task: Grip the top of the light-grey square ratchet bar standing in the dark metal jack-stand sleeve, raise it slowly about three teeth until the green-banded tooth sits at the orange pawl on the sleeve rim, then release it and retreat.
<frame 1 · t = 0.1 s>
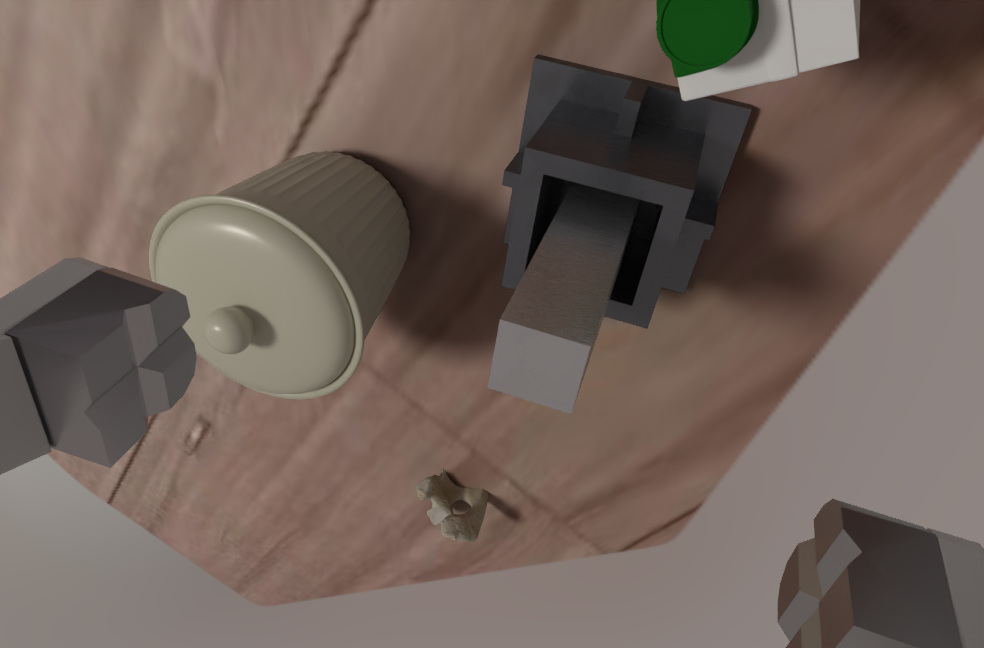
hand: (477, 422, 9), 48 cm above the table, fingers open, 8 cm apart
stand: (616, 178, 57), on the table
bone: (456, 486, 85), on the table
canister: (352, 211, 67), on the table
column: (581, 264, 47), point 13 cm above the table, slide at 0.0 cm
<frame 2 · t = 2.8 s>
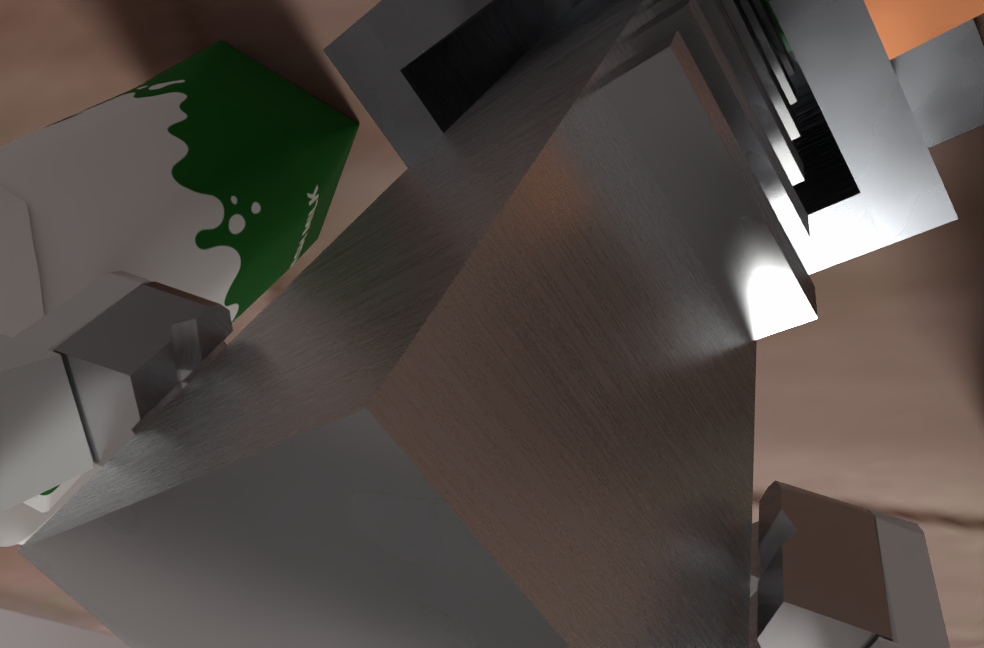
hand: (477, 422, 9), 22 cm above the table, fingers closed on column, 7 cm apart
milk carton: (274, 142, 34), on the table
stand: (669, 23, 26), on the table
column: (623, 151, 15), point 13 cm above the table, slide at -0.1 cm, touching gripper
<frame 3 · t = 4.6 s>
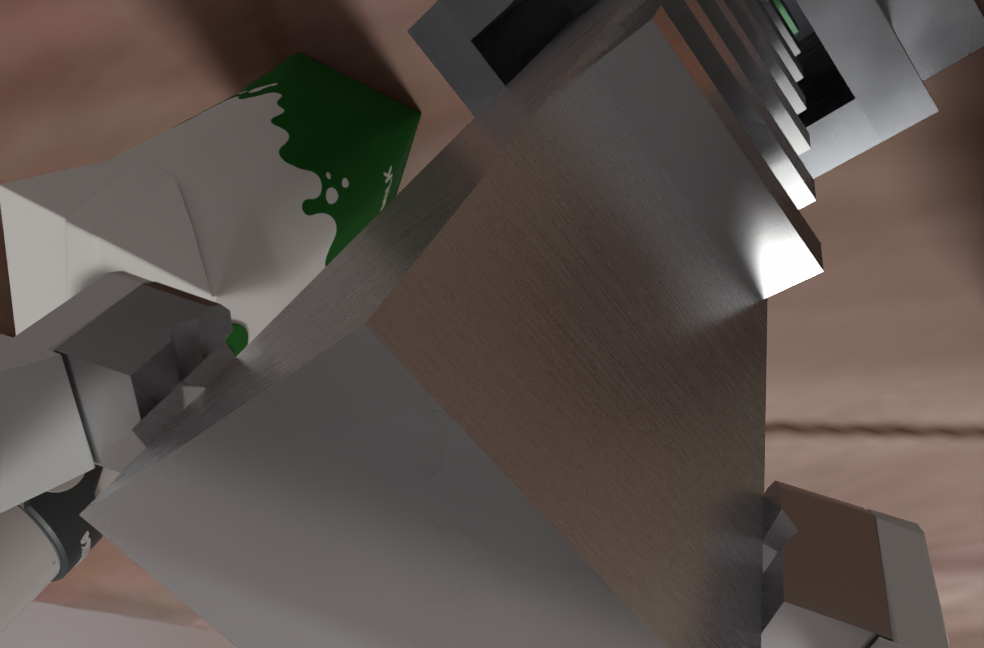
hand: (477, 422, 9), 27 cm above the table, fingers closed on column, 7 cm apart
milk carton: (346, 138, 39), on the table
column: (630, 137, 16), point 18 cm above the table, slide at 4.4 cm, touching gripper
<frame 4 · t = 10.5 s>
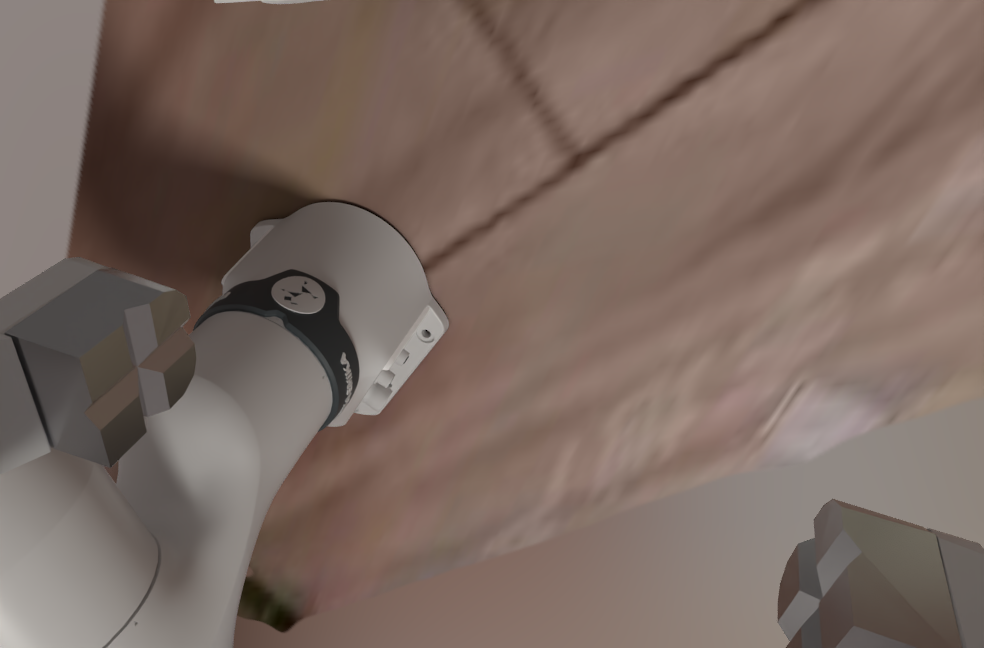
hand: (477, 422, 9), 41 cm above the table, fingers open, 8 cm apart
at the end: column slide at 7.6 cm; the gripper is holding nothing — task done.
